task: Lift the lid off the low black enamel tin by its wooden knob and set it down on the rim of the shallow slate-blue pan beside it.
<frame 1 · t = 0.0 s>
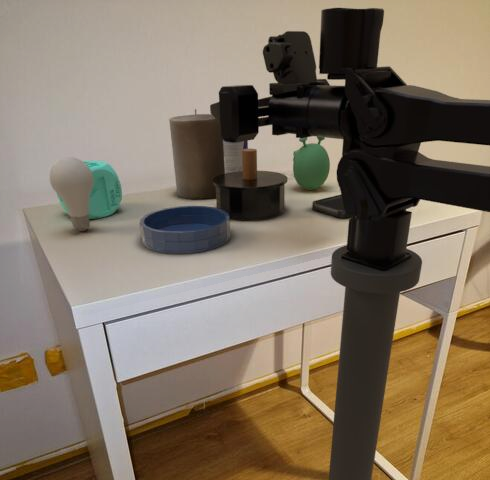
hand: (235, 106, 67), 17 cm above the table, tool horizontal, fingers open, 9 cm apart
pillar candle: (201, 194, 91), on the table
pan: (186, 238, 69), on the table
alien toy: (309, 189, 92), on the table
phone: (357, 206, 80), on the table
energy drink: (236, 179, 101), on the table
lid: (250, 181, 77), point 5 cm above the table, touching tin
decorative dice: (93, 213, 82), on the table
tin: (250, 210, 80), on the table
lightbulb: (83, 232, 73), on the table
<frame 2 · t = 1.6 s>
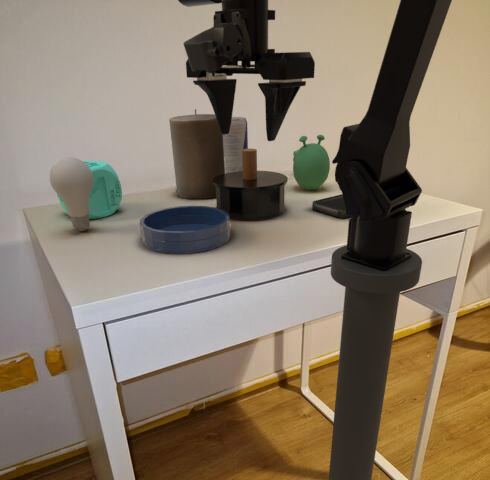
hand: (247, 137, 65), 13 cm above the table, tool pointing down, fingers open, 9 cm apart
nothing on the table moved.
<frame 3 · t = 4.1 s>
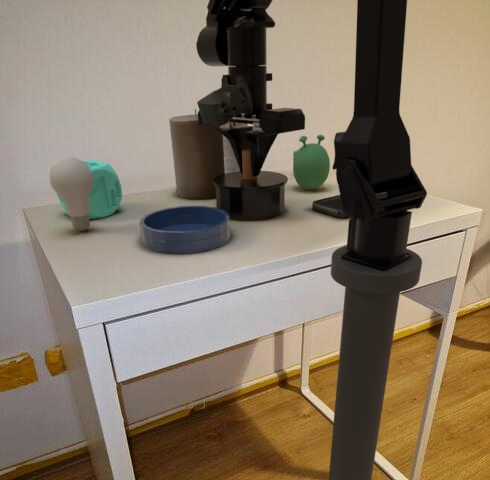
hand: (249, 174, 77), 6 cm above the table, tool pointing down, fingers closed on lid, 2 cm apart
lid: (250, 181, 77), point 5 cm above the table, touching gripper, tin
everything else where it was.
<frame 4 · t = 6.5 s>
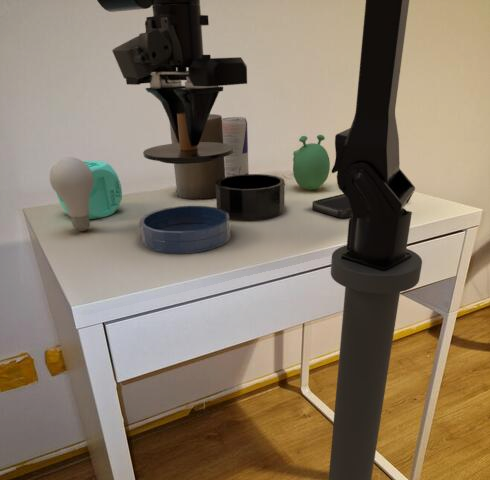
hand: (188, 144, 64), 13 cm above the table, tool pointing down, fingers closed on lid, 2 cm apart
lid: (189, 153, 64), point 12 cm above the table, touching gripper
everything else where it was.
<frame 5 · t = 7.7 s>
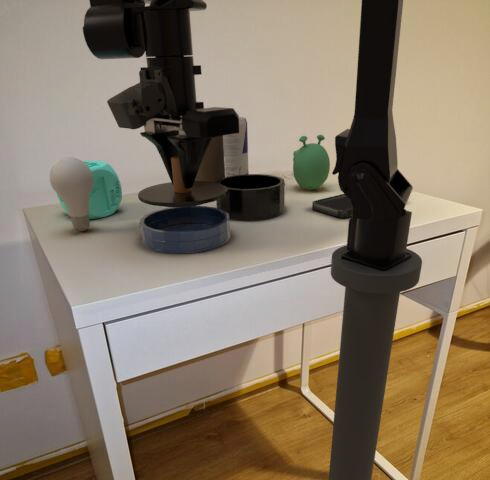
hand: (182, 186, 65), 7 cm above the table, tool pointing down, fingers closed on lid, 2 cm apart
lid: (183, 194, 65), point 6 cm above the table, touching gripper
everything else where it was.
when the fingers open (4 cm above the table, at t = 8.7 s): lid stays where it is, resting on pan.
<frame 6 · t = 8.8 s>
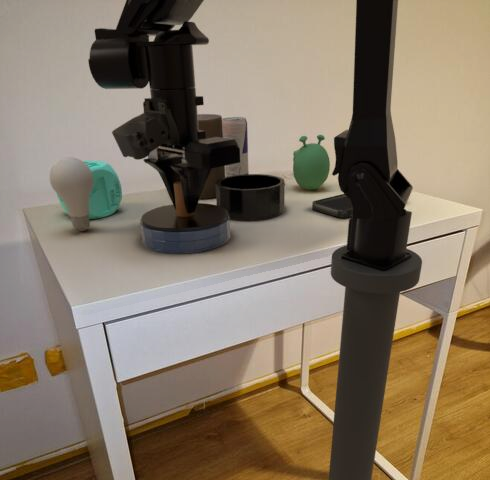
hand: (184, 211, 66), 4 cm above the table, tool pointing down
lid: (185, 218, 67), point 3 cm above the table, touching pan
everything else where it was.
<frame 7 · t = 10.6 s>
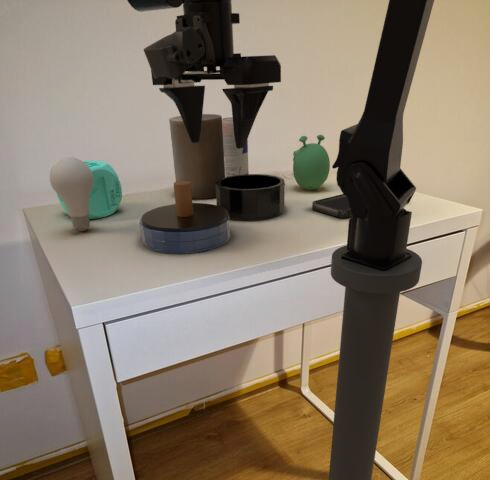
hand: (216, 145, 62), 13 cm above the table, tool pointing down, fingers open, 9 cm apart
nothing on the table moved.
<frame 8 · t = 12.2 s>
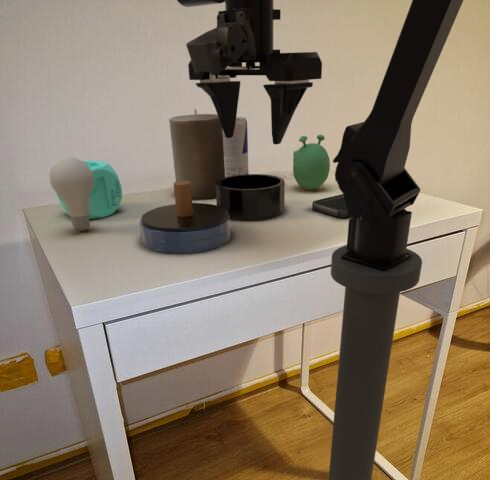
hand: (252, 140, 63), 13 cm above the table, tool pointing down, fingers open, 9 cm apart
nothing on the table moved.
at the end: lid 0.1 cm off-centre on the pan, point 3.0 cm above the pan's base; lid tilted 0°; the gripper is holding nothing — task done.
